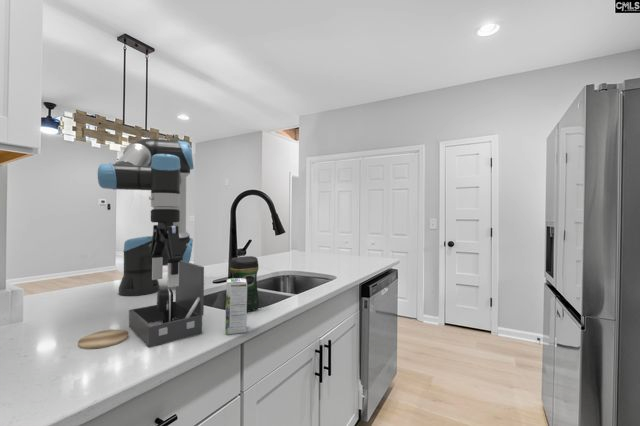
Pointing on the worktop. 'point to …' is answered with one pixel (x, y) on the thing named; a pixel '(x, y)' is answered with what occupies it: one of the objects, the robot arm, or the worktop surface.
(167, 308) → the battery charger
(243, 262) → the coffee jar
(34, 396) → the worktop surface
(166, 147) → the robot arm
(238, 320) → the syrup box
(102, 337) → the disc
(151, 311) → the case
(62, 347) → the worktop surface
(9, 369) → the worktop surface
